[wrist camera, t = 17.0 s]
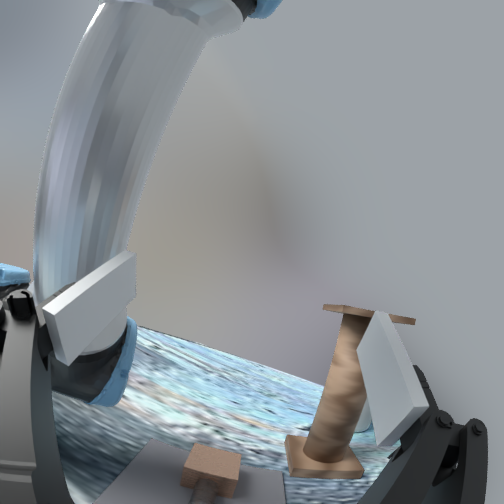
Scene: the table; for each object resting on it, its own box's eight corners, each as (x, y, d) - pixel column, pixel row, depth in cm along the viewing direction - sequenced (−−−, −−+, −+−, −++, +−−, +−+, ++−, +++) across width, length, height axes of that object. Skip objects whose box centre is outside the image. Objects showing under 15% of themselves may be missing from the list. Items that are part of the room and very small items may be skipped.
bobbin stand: (289, 476, 32) (343, 305, 37) (284, 442, 45) (323, 304, 50) (360, 478, 31) (415, 318, 36) (342, 447, 44) (383, 316, 49)
